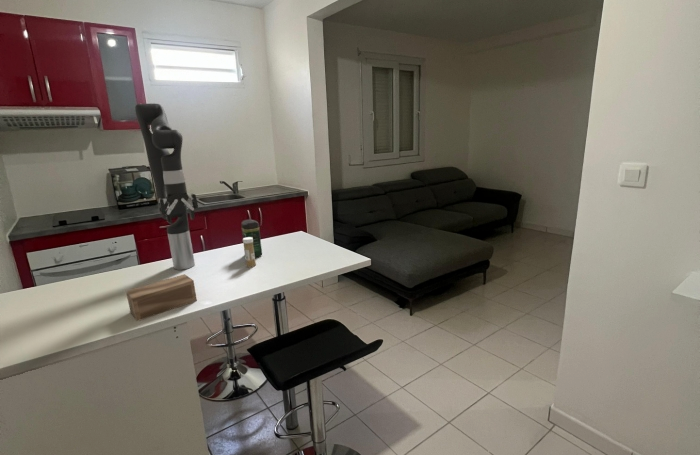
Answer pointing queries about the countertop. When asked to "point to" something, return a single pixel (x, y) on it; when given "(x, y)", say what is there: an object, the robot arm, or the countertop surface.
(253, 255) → the sprinkles bottle
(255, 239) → the coffee jar
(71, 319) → the countertop surface
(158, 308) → the brown wooden block
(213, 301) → the countertop surface
